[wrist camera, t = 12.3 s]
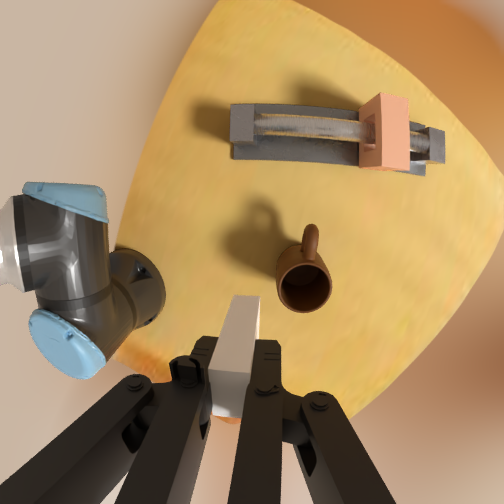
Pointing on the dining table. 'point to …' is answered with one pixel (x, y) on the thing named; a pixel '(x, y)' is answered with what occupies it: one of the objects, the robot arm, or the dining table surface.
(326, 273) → the mug
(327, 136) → the pipe rig
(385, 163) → the collar
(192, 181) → the dining table surface
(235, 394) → the robot arm
